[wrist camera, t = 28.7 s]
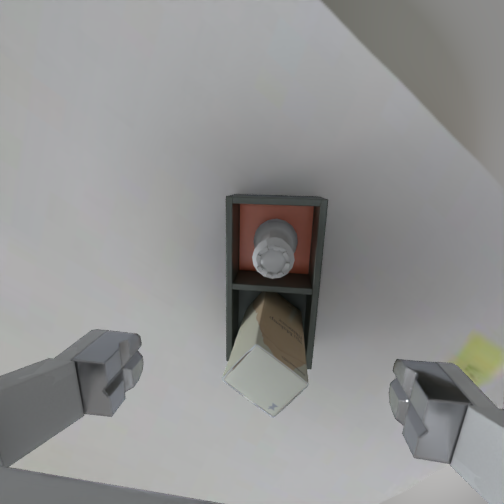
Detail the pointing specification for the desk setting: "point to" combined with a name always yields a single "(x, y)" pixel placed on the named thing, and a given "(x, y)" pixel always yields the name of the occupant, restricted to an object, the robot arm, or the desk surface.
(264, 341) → the box
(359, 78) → the desk surface
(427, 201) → the desk surface
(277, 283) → the divided tray
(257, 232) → the rook chess piece
